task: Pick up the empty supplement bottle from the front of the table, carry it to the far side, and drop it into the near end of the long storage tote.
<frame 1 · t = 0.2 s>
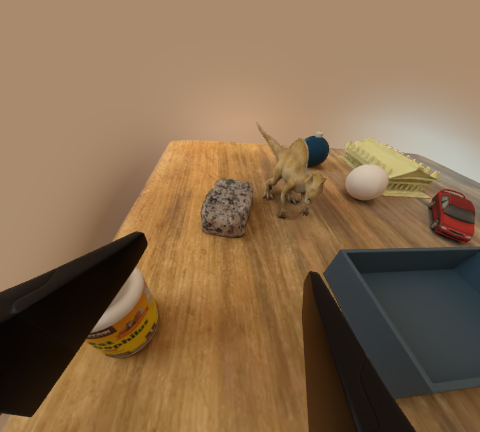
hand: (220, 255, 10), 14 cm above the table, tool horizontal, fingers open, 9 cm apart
rock: (228, 215, 34), on the table
toy car: (441, 222, 39), on the table
christmas ornament: (308, 165, 55), on the table
storage tote: (426, 315, 23), on the table
supplement bottle: (133, 327, 19), on the table
dinosaur figurine: (279, 199, 40), on the table
ball: (356, 197, 44), on the table
model building: (376, 174, 55), on the table
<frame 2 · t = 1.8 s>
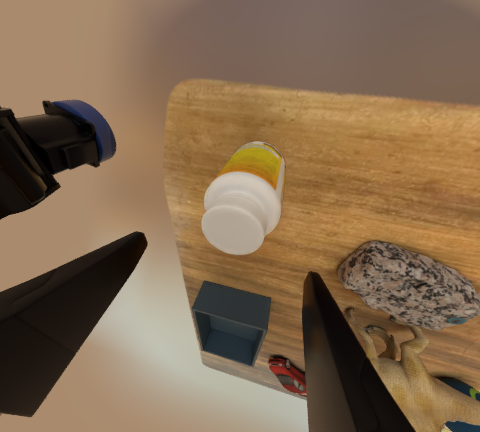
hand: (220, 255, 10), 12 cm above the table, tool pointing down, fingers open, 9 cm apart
rock: (389, 271, 23), on the table
toy car: (290, 365, 52), on the table
christmas ornament: (447, 378, 35), on the table
storage tote: (234, 314, 41), on the table
supplement bottle: (258, 167, 19), on the table
dinosaur figurine: (385, 321, 29), on the table
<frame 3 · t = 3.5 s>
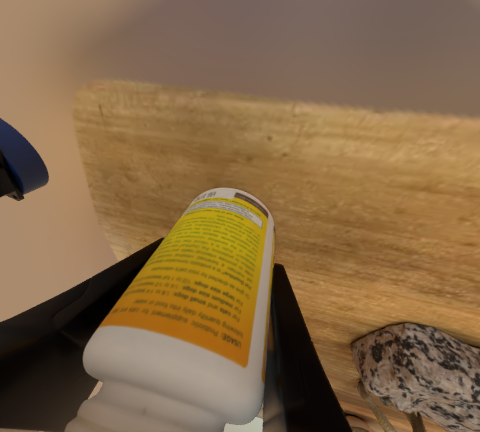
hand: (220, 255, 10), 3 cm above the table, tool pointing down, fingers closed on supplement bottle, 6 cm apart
rock: (426, 354, 16), on the table
supplement bottle: (233, 220, 12), on the table, touching gripper
dinosaur figurine: (410, 395, 22), on the table
ball: (352, 414, 34), on the table
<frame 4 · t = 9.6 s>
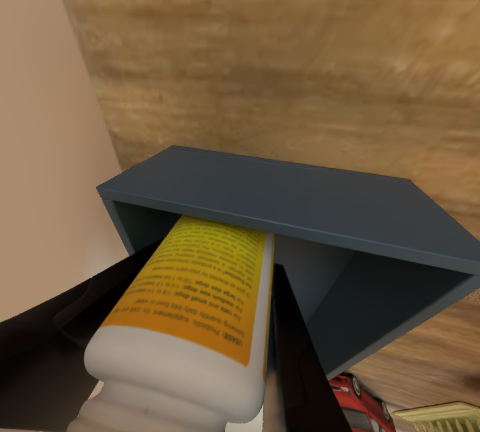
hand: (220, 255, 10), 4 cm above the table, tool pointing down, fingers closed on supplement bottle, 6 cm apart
toy car: (352, 385, 28), on the table
storage tote: (256, 275, 17), on the table
supplement bottle: (232, 220, 12), point 1 cm above the table, touching gripper
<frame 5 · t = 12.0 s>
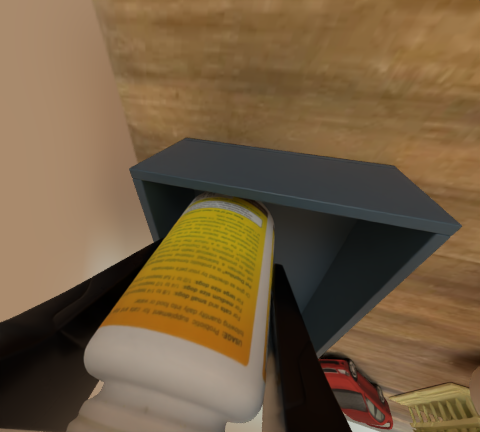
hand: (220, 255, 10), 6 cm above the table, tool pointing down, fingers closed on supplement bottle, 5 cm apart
toy car: (349, 370, 29), on the table
storage tote: (259, 260, 18), on the table
supplement bottle: (232, 220, 12), point 3 cm above the table, touching gripper
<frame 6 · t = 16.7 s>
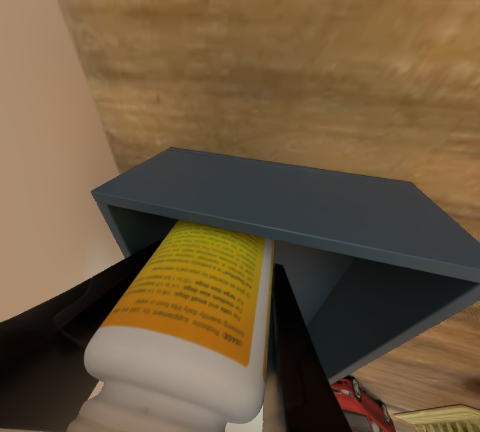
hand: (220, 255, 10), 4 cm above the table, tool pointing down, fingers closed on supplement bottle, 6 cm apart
toy car: (352, 387, 28), on the table
storage tote: (256, 278, 17), on the table
supplement bottle: (232, 220, 12), point 1 cm above the table, touching gripper
when the fingers open (6 cm above the table, at t = 21.1 s): supplement bottle drops 3 cm, resting on storage tote.
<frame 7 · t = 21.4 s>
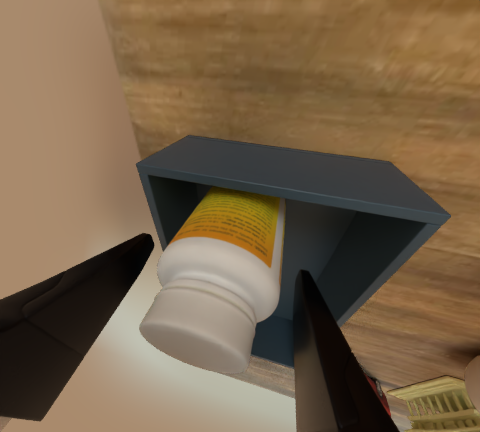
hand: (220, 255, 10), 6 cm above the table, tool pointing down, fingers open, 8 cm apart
toy car: (348, 365, 30), on the table
storage tote: (259, 256, 19), on the table
supplement bottle: (250, 196, 14), resting on storage tote
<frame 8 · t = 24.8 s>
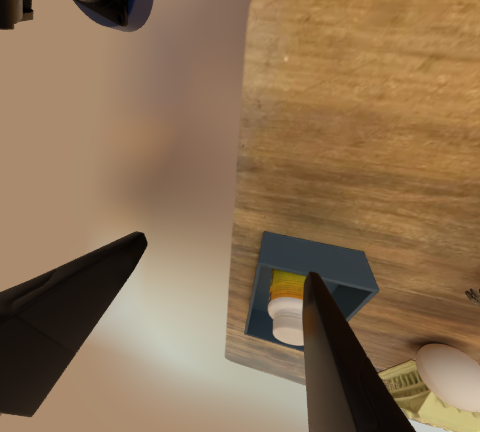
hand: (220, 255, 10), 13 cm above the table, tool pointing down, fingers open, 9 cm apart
storage tote: (292, 285, 31), on the table
supplement bottle: (292, 258, 27), resting on storage tote
ball: (434, 344, 32), on the table
model building: (451, 385, 39), on the table
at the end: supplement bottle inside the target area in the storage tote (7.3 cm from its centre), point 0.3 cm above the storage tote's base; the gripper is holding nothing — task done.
